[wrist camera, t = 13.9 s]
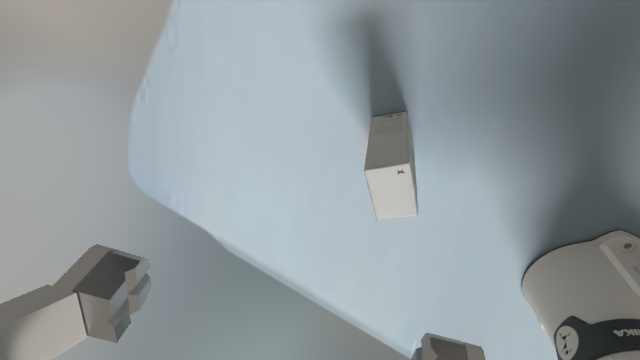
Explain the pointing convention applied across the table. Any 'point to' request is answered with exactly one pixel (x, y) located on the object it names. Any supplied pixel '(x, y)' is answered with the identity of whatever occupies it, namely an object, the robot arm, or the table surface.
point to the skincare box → (391, 167)
